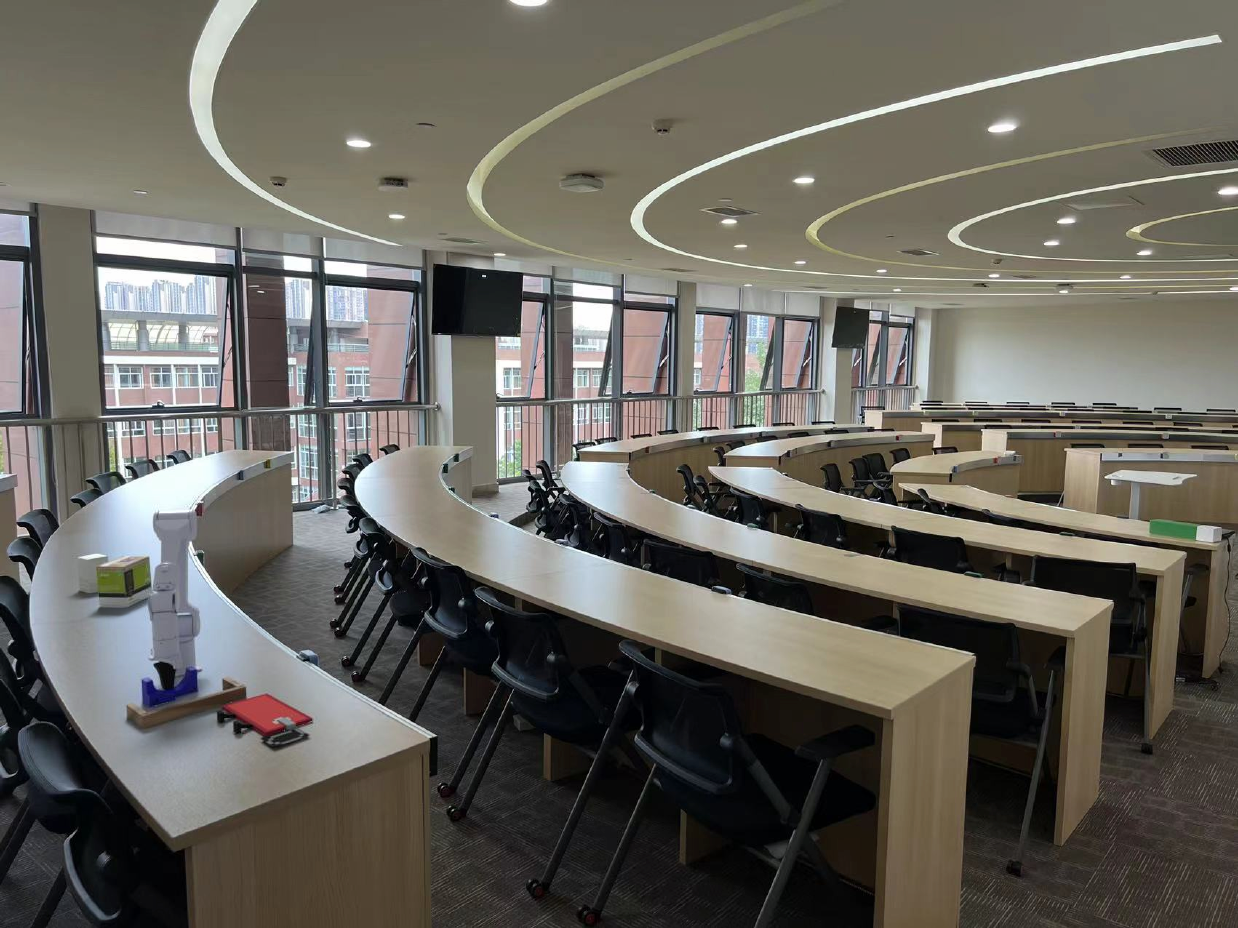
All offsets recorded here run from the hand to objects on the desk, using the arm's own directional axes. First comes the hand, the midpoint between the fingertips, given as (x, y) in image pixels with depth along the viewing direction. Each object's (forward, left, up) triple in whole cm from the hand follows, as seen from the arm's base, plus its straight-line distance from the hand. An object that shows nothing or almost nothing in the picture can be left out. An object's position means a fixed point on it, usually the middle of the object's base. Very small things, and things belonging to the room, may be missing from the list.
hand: (168, 688), depth 210 cm
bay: (+12, 0, -1) cm, 12 cm away
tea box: (-95, +24, -2) cm, 98 cm away
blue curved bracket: (+3, 0, -2) cm, 3 cm away
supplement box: (-119, +22, -2) cm, 121 cm away
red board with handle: (+34, +8, -2) cm, 35 cm away
